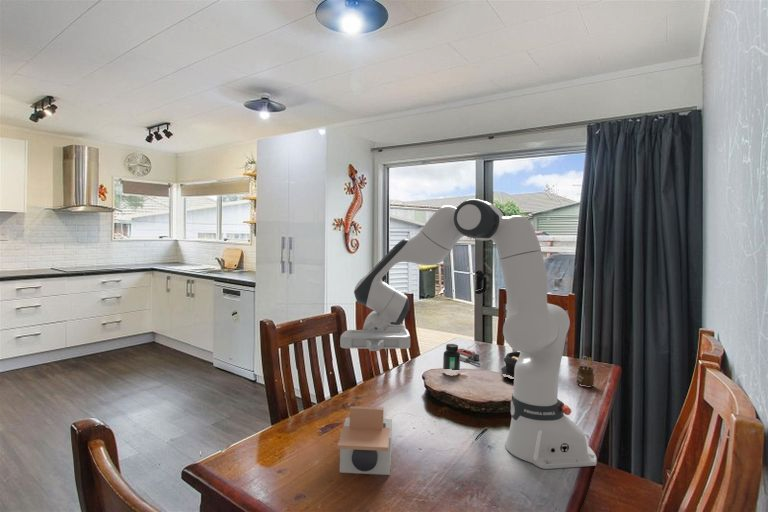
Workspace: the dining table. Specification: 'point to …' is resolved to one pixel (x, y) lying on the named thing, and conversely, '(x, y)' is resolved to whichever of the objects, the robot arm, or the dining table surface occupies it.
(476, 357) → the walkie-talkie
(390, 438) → the camera case
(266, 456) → the dining table surface
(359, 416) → the tan wooden stepped block
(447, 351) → the supplement bottle
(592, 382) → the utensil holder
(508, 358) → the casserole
